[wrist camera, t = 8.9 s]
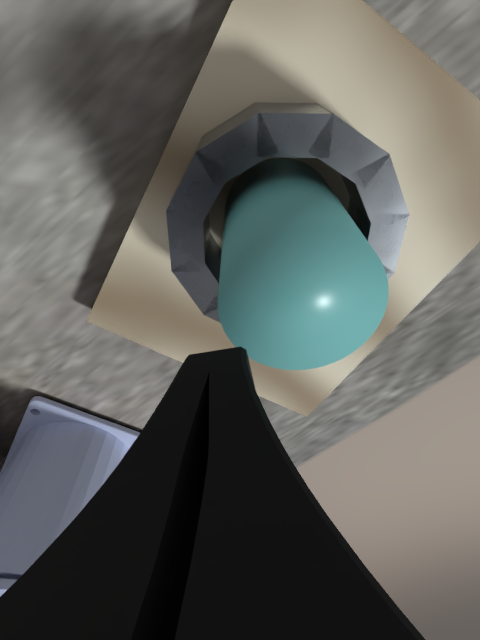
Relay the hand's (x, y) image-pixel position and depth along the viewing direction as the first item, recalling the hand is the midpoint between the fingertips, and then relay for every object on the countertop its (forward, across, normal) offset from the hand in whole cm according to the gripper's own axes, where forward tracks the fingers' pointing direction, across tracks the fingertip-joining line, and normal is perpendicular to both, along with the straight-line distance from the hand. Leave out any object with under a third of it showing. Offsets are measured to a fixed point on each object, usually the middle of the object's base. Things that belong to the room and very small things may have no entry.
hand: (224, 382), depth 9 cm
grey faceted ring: (+9, -2, -1) cm, 9 cm away
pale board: (+10, -3, +1) cm, 10 cm away
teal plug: (+9, -2, -1) cm, 9 cm away
